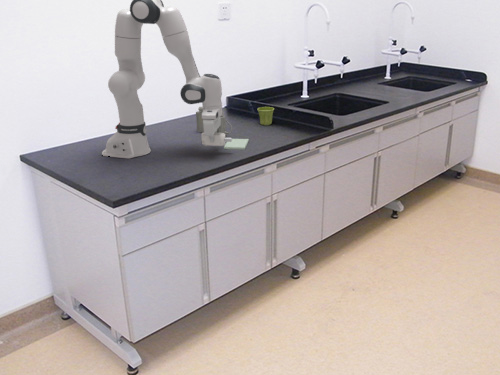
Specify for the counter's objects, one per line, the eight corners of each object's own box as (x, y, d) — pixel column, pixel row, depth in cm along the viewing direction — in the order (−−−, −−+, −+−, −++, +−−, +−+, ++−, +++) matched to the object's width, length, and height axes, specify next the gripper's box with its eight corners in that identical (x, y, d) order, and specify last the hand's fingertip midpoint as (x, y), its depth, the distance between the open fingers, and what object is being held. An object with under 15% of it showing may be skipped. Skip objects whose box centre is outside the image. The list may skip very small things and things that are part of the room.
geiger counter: (193, 106, 260) (226, 113, 244) (202, 104, 264) (235, 110, 248) (195, 132, 265) (228, 140, 249) (204, 129, 269) (236, 137, 254)
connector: (201, 145, 228) (200, 134, 226) (202, 142, 232) (202, 132, 230) (230, 146, 227) (230, 135, 225) (232, 143, 230) (232, 133, 228)
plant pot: (259, 126, 272) (259, 111, 269) (255, 122, 280) (255, 107, 277) (276, 125, 274) (276, 110, 271) (271, 121, 282) (271, 106, 279)
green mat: (223, 149, 236) (223, 147, 236) (229, 140, 249) (229, 138, 249) (244, 149, 235) (244, 147, 234) (248, 141, 248) (248, 139, 247)
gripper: (210, 105, 233) (211, 133, 239) (200, 116, 215) (201, 146, 220) (223, 105, 233) (224, 134, 238) (214, 116, 214) (215, 147, 219)
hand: (213, 140), depth 229 cm, fingers closed on connector, 4 cm apart
